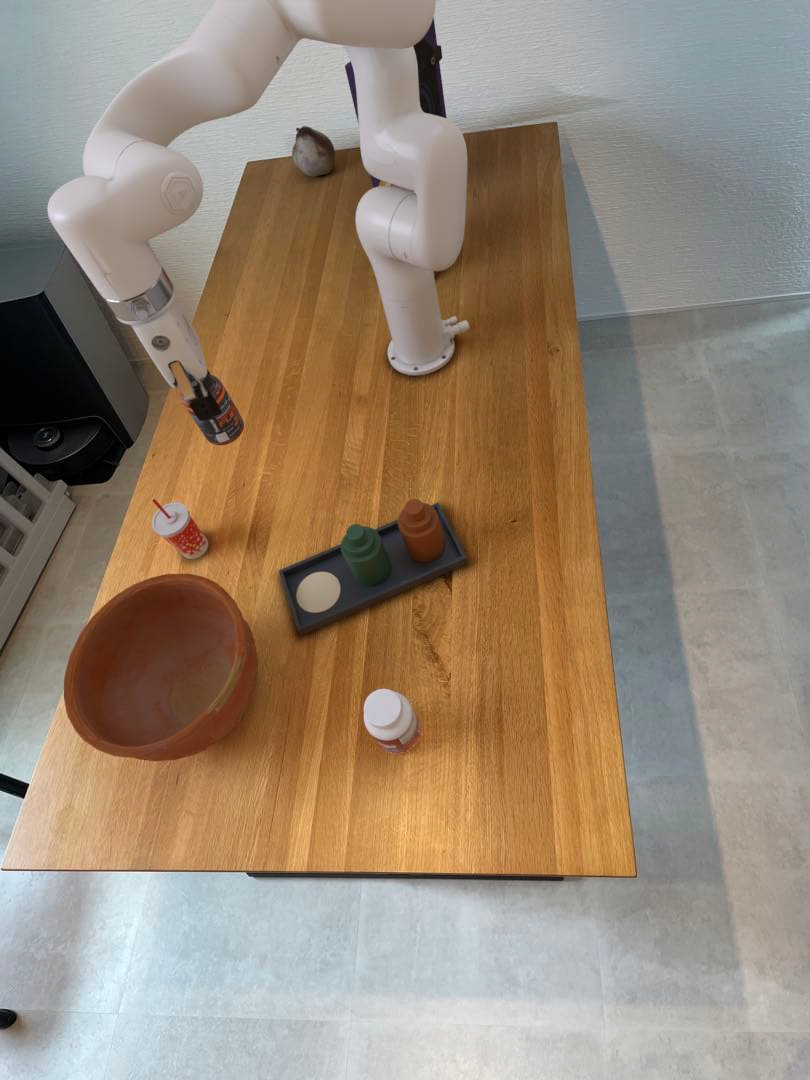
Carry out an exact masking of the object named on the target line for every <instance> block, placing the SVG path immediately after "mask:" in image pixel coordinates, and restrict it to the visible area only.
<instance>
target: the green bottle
mask: <svg viewBox="0 0 810 1080" xmlns="http://www.w3.org/2000/svg"><path fill="white" fill-rule="evenodd" d="M340 544H341V552H342V554H343V556H344V558H345V560H346V562H347V564H348V565H349V567H350V569H351V571H352V573H353V575H354V577H355V579H356V580H357V581H358V582H359V583H360V584H362V585H365V586H375V585H378V584H381V583H382V582H384V581H385V580H386V579H387V578H388V576H389V575H390V572H391V561H390V559H389V557H388V554H387V552H386V549H385V547H384V545H383V542H382V540H381V538H380V535H379V534H378V532H377V531H376V530H375V529H374V528H373V527H370V526H364V525H362V524H358V523H354V524H351V525H350V526H348V527H347V529H346V532H345V535H344V536H343V538H342V539H341V542H340Z"/></svg>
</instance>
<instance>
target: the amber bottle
mask: <svg viewBox="0 0 810 1080" xmlns="http://www.w3.org/2000/svg"><path fill="white" fill-rule="evenodd" d="M431 505H432V504H429V503H426V502H422V500H420V499H417V498H412V499H409V500H408V501H406V503H405V505H404V508H403V509H402V510H401V511H400V513H399V514H398V518H397V520H398V527H399V529H400V532H401V535H402V538H403V540H404V543H405V546H406V549H407V551H408V554H409V555H410V557H411V558H412V559H414V560H415V561H418V562H423V563H426V562H431V561H434V560H436V559H437V558H439V557H440V556H441V554H442V553H443V551H444V549H445V539H444V536H443V532H442V528H441V524H440V520H439V517H438V513H437V511H436V510H435V508H434V507H432V506H431Z"/></svg>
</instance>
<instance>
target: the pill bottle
mask: <svg viewBox="0 0 810 1080" xmlns="http://www.w3.org/2000/svg"><path fill="white" fill-rule="evenodd" d="M363 723H364V726H365V728H366V730H367V731H368V733H369V734H370V736H372V738H373V739H374V740H375V741H376V743H377V744H378V745H379V746H380V747H381V748H382V749H383V750H384V749H385V750H384V751H385V752H386V753H387V752H388V751H389V752H388V753H390V754H394V755H403V754H406V753H408V752H410V751H412V749H413V748H415V747H416V746H417V744H418V742H419V741H420V738H421V733H422V729H421V730H420V727H421V728H422V725H421V722H420V719H419V717H418V715H417V714H416V712H415V710H414V708H413V707H412V704H411V702H410V701H409V700H408V699H407V697H406V696H404V695H403V694H401V692H400V693H399V692H398V691H393V690H392V689H389V688H379V689H378V688H377V689H376V690H374V691H372V692H371V693H370V694H368V696H367V697H366V699H365V701H364V705H363ZM419 735H420V736H419ZM418 738H419V739H418ZM417 740H418V741H417ZM415 743H416V744H415ZM414 744H415V745H414ZM413 745H414V746H413ZM410 748H411V749H410ZM407 750H408V751H407ZM405 751H406V752H405ZM391 752H392V753H391ZM401 752H403V753H401Z"/></svg>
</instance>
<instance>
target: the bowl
mask: <svg viewBox="0 0 810 1080" xmlns="http://www.w3.org/2000/svg"><path fill="white" fill-rule="evenodd" d="M255 642H256V641H255V639H254V636H253V632H252V630H251V627H250V625H249V623H248V622H247V620H245V618H244V616H243V614H242V611H241V610H240V608H239V606H238V604H237V602H236V601H235V599H234V598H233V597H232V596H231V595H230V593H228V591H226V590H225V588H224V587H222V586H221V585H220V584H218V583H217V582H216V581H214V580H211V579H209V578H207V577H205V576H203V575H197V574H192V573H164V574H160V575H156V576H152V577H148V578H147V579H143V580H141V581H139V582H137V583H134V584H132V585H130V586H128V587H127V588H125V589H124V590H122V591H120V592H118V593H117V594H115V595H114V596H113V597H112V598H111V599H109V600H108V601H107V602H106V603H105V604H104V605H103V606H101V607H100V608H99V609H98V611H96V612H95V614H94V615H93V616H92V617H91V618H90V620H88V622H87V623H86V625H85V626H84V627H83V629H81V631H80V633H79V635H78V637H77V639H76V641H75V644H74V645H73V647H72V649H71V652H70V653H69V657H68V661H67V664H66V668H65V672H64V679H63V701H64V705H65V711H66V716H67V718H68V720H69V722H70V724H71V726H72V727H73V729H74V731H75V733H76V734H77V735H78V736H79V737H80V738H81V740H83V741H84V742H85V743H86V744H88V745H90V746H91V747H92V748H94V749H95V750H97V751H99V752H101V753H104V754H107V755H109V756H111V757H117V758H118V757H119V758H131V759H137V760H139V761H148V762H166V761H167V762H168V761H177V760H180V759H183V758H187V757H191V756H194V755H197V754H200V753H201V752H205V751H207V749H208V748H210V747H212V746H214V745H216V744H217V743H218V742H220V740H222V739H223V738H224V737H225V736H226V735H228V734H229V733H230V732H231V731H232V730H233V729H234V728H235V727H236V726H237V725H238V724H240V723H241V721H242V716H243V714H245V712H246V711H247V708H248V707H249V704H250V702H251V701H252V698H253V696H254V694H255V691H256V688H257V686H258V683H259V682H258V681H259V680H258V678H257V677H258V666H259V662H258V661H259V659H258V652H257V647H256V643H255Z"/></svg>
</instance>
